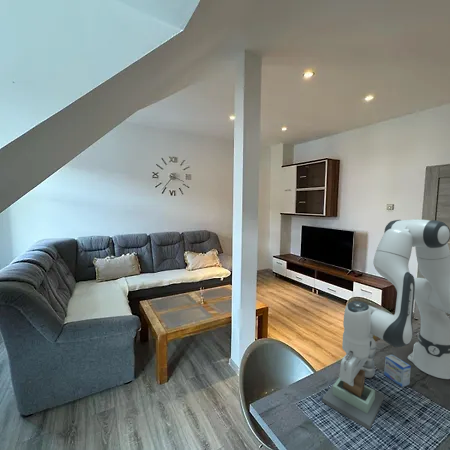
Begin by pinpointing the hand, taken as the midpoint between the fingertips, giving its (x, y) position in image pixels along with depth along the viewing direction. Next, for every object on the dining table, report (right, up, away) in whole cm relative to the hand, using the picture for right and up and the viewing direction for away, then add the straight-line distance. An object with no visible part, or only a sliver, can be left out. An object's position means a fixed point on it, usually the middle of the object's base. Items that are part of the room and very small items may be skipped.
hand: (353, 380), depth 92 cm
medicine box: (+24, -7, +11) cm, 27 cm away
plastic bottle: (+12, -7, +14) cm, 20 cm away
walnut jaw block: (0, -4, 0) cm, 4 cm away
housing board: (0, -8, +1) cm, 8 cm away
